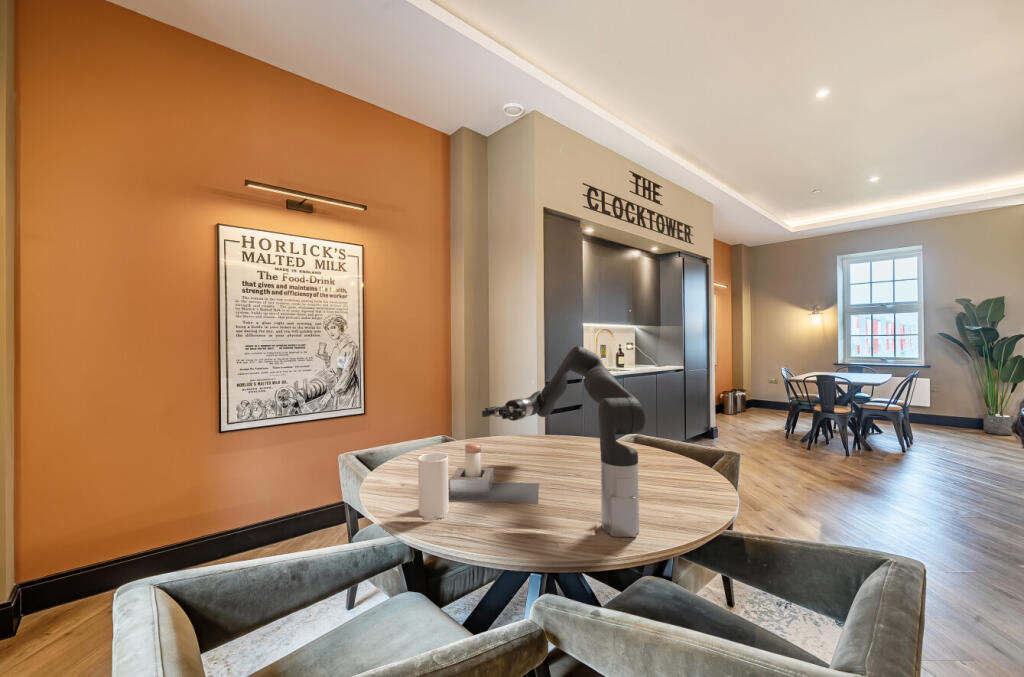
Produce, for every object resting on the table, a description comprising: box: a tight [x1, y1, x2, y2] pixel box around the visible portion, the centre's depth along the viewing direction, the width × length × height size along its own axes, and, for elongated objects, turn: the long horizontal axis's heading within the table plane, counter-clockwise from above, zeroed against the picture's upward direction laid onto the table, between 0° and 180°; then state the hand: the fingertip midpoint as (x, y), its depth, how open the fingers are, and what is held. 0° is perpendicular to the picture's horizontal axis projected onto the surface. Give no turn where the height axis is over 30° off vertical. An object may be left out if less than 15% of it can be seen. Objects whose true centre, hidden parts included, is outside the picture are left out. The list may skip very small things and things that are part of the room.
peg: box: [464, 442, 482, 477], centre depth 129 cm, size 5×5×14 cm
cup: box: [417, 452, 450, 521], centre depth 113 cm, size 8×8×16 cm
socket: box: [449, 466, 495, 497], centre depth 129 cm, size 12×12×5 cm
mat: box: [449, 481, 540, 505], centre depth 127 cm, size 17×28×1 cm, turn 86°
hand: (492, 415), depth 138 cm, fingers open, 8 cm apart
